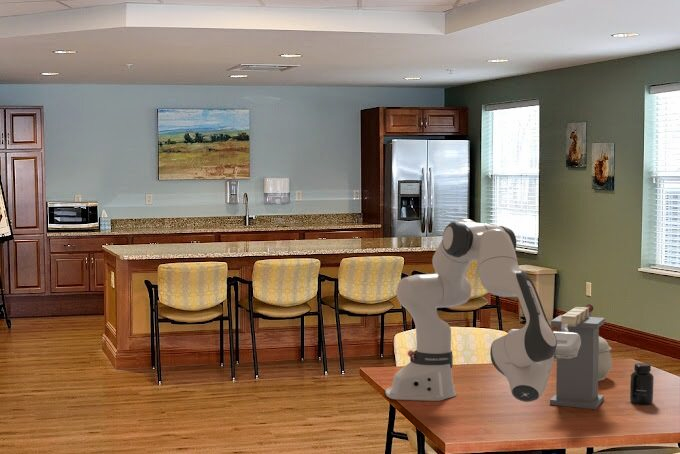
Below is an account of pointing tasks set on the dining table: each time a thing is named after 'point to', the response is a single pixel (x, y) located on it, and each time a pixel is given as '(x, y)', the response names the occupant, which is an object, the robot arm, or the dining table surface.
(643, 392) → the supplement bottle
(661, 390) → the dining table surface
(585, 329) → the tool stand
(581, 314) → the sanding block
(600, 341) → the kettle
